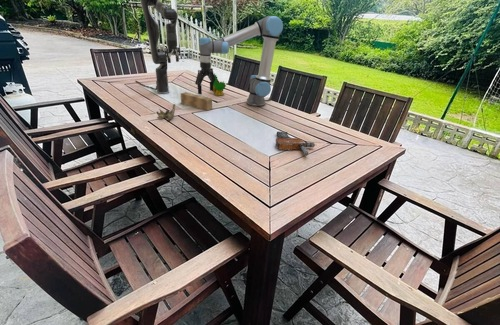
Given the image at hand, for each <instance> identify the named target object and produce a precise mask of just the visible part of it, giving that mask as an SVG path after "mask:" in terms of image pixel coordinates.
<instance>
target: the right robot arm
mask: <svg viewBox="0 0 500 325" xmlns="http://www.w3.org/2000/svg"><path fill="white" fill-rule="evenodd" d="M283 29H284V23H283V21H282V19H281V18H280V17H278V16H276V15H267V16H264V17H263V18H261V19H260V20H257V21H255V22H254V24H251V25H249V26H247V27H245V28H242V29H240V30H237V31H235V32H233V33H230V34H228V35H225V36H223V37H220V38H217V39H215V40H212V38H211V37H206V36H203V37H202V36H201V37H200V38H199V61H200V62H199V68H200V69H197V75H196V78H195V83H194V84H195V85H197V95H203V92H202V91H203V89H202V88H203V87H202V83H203V80H204V78H205V77H206V76H207V77H208V79H209V91H211V92H213V86H214V82H215V76H214V68H212V54H220V55H221V54H222V55H226V54H228V53H229V48H230V47H233V46H235V45H238V44H240V43H242V42H245V41H247V40H249V39H252V38H254V37H257V36H258V37H261V36H262V39H263V45H262V49H261V56H260V62H259V68H258V73H257V74H252V75H250V78H249V94H248V96H247V98H246V104H247V105H248V106H253V107H264V106H265V105H266V102H269V101H272V98H271V99H265V97H267V96H269V94H270V93H271V90H272V86H271V81H272V78H271V77H270V75H271V70H272V66H273V60H274V54H275V49H276V44H277V42H278V41H279V39H280V35H281V34H282V32H283V31H284V30H283ZM213 78H214V79H213Z"/></svg>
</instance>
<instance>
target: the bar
mask: <svg viewBox="0 0 500 325" xmlns="http://www.w3.org/2000/svg"><path fill="white" fill-rule="evenodd" d="M180 103H181V105H185V106H188V107H192V108H195V109H200V110H203V111H210V110H213V98H212V97H208V96H203V95H201V94H195V93H191V92H187V91H185V92H181V93H180Z"/></svg>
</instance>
